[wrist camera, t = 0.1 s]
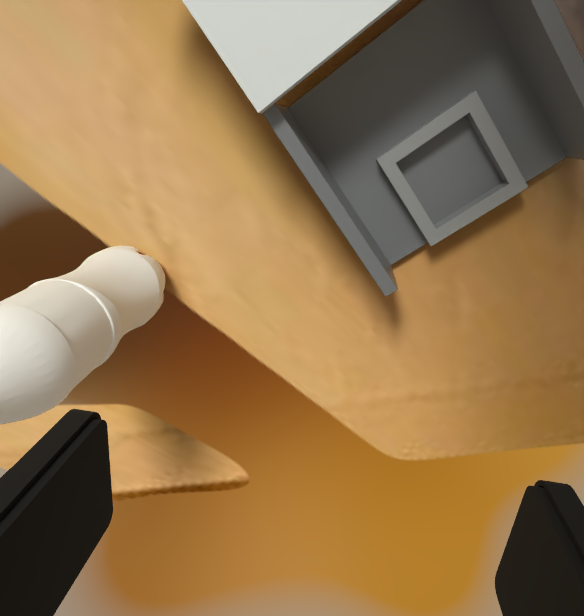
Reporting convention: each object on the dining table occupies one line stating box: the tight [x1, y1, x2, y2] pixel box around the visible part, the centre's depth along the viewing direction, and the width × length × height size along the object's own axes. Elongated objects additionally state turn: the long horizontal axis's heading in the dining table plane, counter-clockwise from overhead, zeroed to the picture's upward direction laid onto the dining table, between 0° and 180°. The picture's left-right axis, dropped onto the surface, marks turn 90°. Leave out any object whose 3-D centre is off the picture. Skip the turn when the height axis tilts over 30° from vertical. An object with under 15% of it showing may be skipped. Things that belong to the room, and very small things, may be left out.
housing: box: [263, 0, 584, 296], centre depth 32 cm, size 15×17×7 cm
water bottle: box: [0, 246, 165, 424], centre depth 32 cm, size 7×7×25 cm
